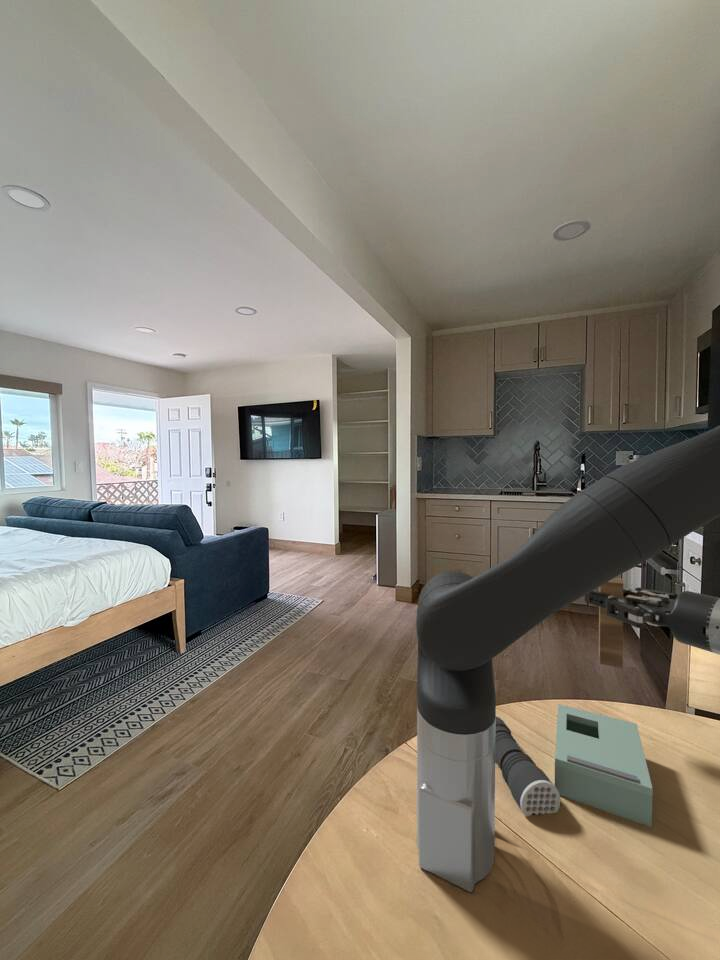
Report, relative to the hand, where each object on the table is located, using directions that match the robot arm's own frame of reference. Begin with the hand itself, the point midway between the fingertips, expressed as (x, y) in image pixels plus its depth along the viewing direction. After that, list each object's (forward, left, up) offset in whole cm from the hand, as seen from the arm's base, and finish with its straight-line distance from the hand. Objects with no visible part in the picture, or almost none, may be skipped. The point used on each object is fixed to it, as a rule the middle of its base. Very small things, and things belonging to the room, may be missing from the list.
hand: (594, 593), depth 69 cm
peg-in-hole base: (-12, 0, -24) cm, 27 cm away
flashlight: (-18, +11, -25) cm, 32 cm away
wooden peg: (-1, -2, -11) cm, 11 cm away
